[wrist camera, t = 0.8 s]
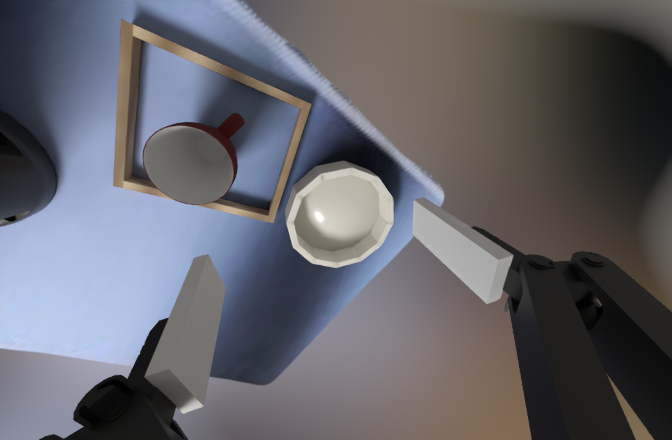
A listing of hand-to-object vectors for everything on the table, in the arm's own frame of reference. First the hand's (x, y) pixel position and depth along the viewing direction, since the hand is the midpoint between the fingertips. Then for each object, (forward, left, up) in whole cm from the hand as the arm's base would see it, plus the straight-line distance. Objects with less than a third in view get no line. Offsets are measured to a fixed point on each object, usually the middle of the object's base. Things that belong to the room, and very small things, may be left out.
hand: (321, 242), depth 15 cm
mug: (-10, -1, -24) cm, 26 cm away
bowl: (+10, -6, -23) cm, 26 cm away
